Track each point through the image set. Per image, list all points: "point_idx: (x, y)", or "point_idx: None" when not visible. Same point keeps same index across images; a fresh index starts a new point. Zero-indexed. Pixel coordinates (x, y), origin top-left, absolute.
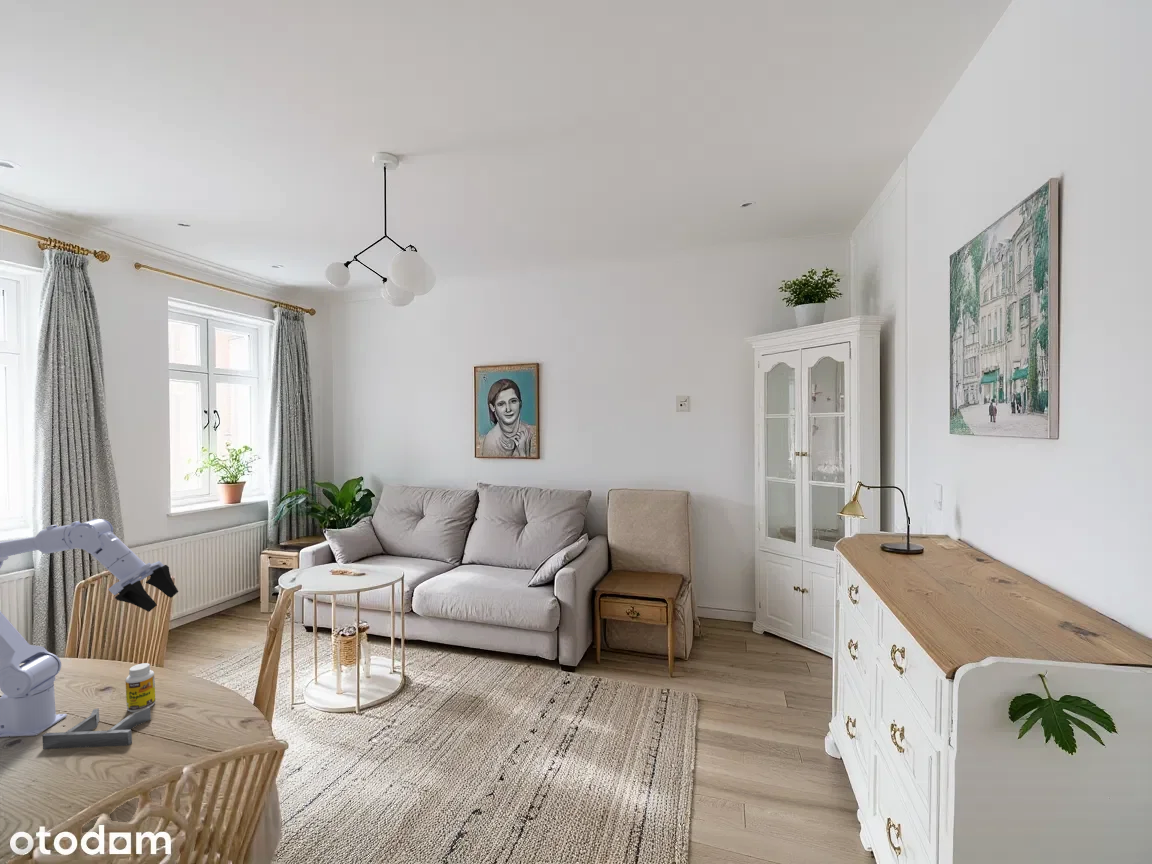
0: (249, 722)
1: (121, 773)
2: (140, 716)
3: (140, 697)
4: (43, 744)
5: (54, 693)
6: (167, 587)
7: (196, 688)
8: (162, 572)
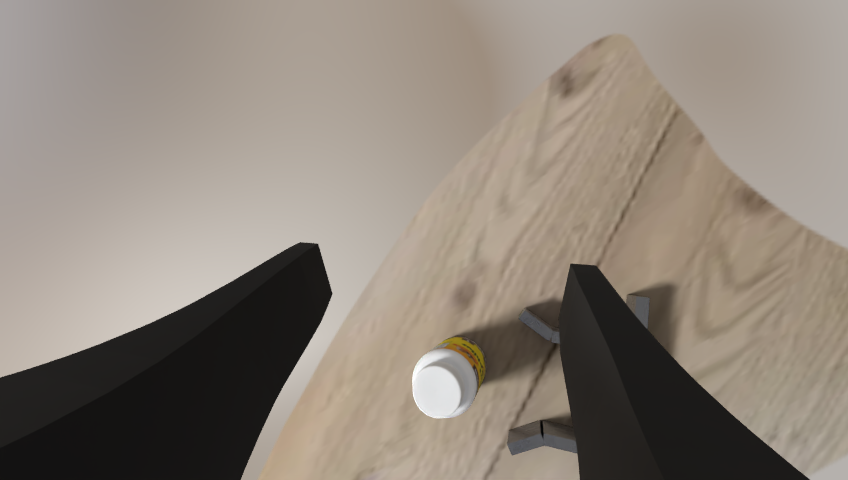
0: (574, 75)
1: (765, 244)
2: (543, 322)
3: (479, 358)
4: None
5: None
6: (277, 322)
7: (396, 277)
8: (100, 418)
